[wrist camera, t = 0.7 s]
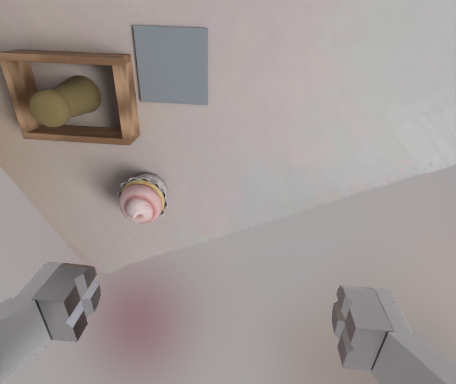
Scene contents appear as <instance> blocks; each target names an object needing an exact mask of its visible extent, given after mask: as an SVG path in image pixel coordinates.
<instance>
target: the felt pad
mask: <svg viewBox="0 0 456 384" xmlns="http://www.w3.org/2000/svg"><path fill="white" fill-rule="evenodd" d="M133 30H134V39H135V49H136V58H137V67H138V77H139V86H140V95H141V101H144V102H162V103H181V104H199V105H208V29H207V28H187V27H161V26H135V25H133Z"/></svg>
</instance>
